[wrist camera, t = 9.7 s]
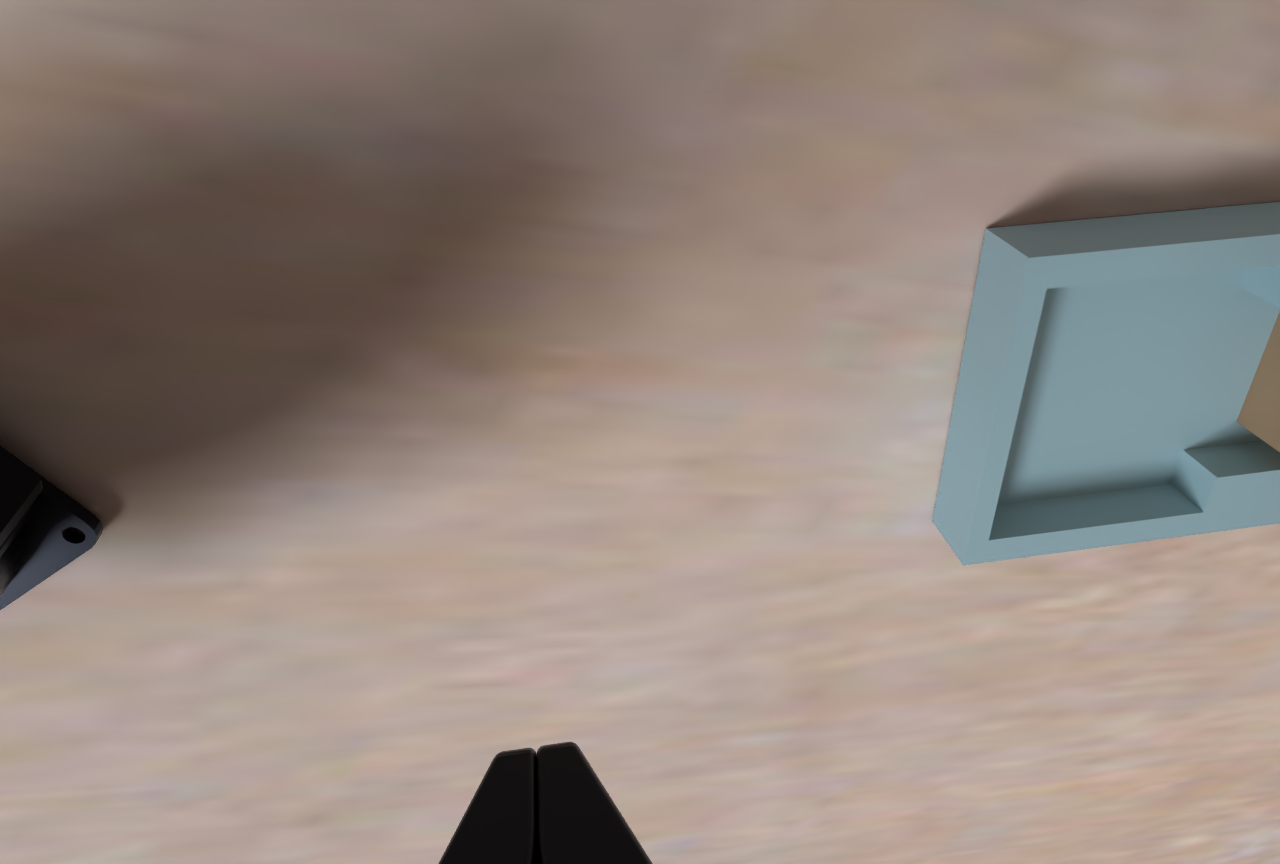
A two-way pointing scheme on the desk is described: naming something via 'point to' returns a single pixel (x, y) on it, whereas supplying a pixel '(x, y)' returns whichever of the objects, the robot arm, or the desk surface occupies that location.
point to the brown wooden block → (1265, 394)
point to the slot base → (1112, 384)
